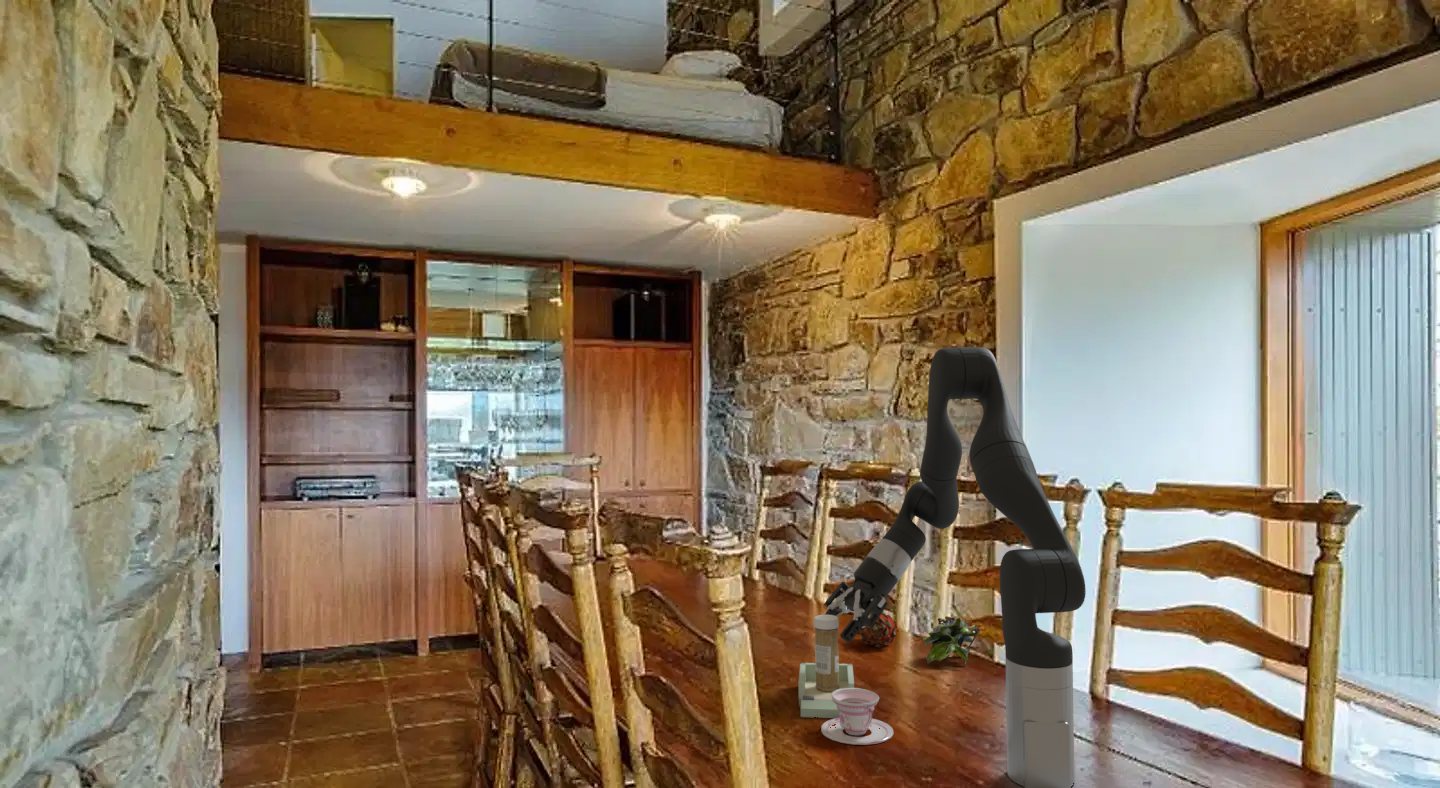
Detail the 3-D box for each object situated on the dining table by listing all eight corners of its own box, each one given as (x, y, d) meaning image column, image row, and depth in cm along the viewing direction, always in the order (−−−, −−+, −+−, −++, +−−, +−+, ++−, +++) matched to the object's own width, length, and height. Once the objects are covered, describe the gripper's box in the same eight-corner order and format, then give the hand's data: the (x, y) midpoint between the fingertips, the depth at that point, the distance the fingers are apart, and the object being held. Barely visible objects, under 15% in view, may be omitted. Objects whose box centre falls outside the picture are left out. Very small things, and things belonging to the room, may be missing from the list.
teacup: (808, 726, 150) (807, 689, 150) (868, 715, 154) (868, 680, 154) (844, 751, 138) (843, 712, 139) (907, 739, 143) (907, 701, 143)
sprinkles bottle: (844, 689, 163) (843, 617, 164) (825, 694, 161) (824, 620, 161) (828, 683, 167) (827, 612, 167) (810, 687, 165) (809, 615, 165)
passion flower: (946, 682, 189) (966, 631, 193) (979, 686, 179) (999, 633, 184) (907, 656, 187) (928, 605, 191) (937, 659, 177) (958, 606, 181)
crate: (855, 718, 152) (855, 692, 152) (797, 716, 153) (797, 691, 153) (852, 687, 169) (852, 664, 169) (800, 685, 170) (800, 662, 170)
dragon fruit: (884, 660, 192) (865, 653, 204) (911, 635, 194) (892, 629, 206) (860, 629, 192) (843, 624, 204) (888, 604, 194) (869, 600, 206)
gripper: (851, 550, 175) (801, 613, 170) (892, 561, 162) (839, 630, 157) (874, 574, 177) (825, 638, 172) (916, 587, 164) (865, 656, 159)
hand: (832, 634), depth 164 cm, fingers open, 8 cm apart
